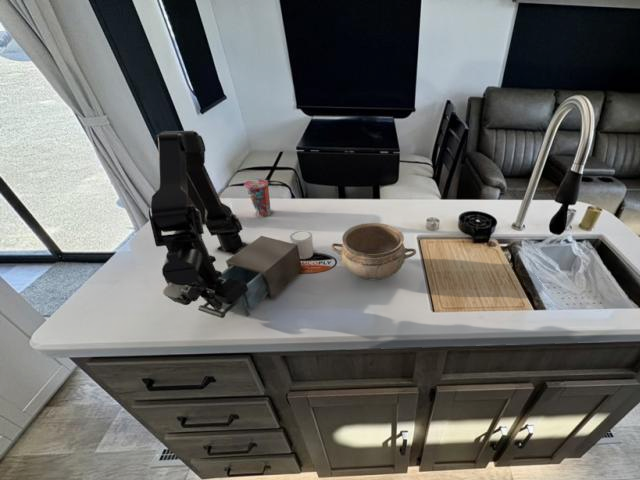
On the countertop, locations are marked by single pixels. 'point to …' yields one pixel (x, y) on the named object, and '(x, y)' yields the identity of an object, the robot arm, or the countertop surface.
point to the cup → (259, 195)
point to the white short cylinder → (303, 243)
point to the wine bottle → (194, 196)
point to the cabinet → (270, 262)
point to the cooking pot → (373, 250)
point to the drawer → (248, 299)
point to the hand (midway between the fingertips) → (218, 309)
